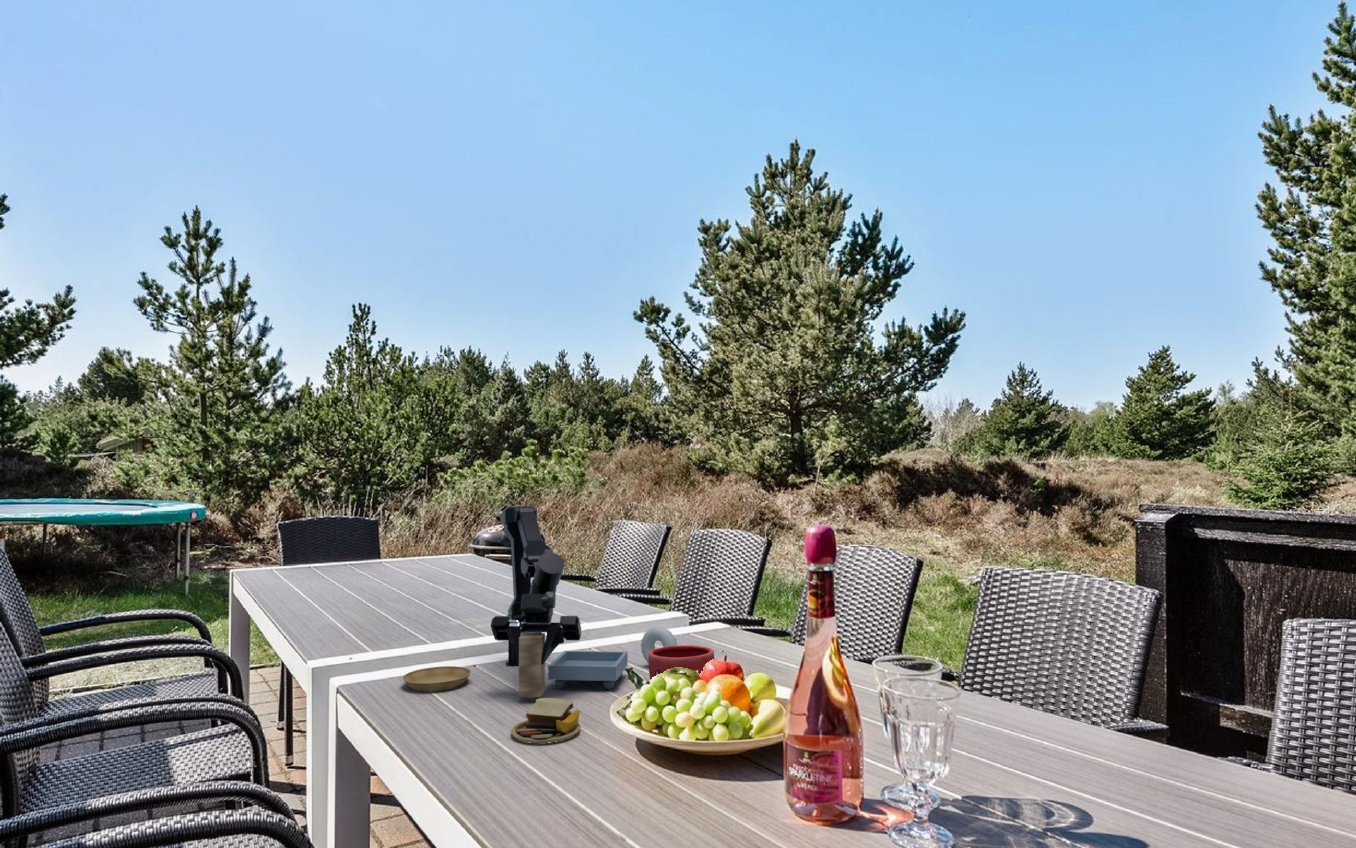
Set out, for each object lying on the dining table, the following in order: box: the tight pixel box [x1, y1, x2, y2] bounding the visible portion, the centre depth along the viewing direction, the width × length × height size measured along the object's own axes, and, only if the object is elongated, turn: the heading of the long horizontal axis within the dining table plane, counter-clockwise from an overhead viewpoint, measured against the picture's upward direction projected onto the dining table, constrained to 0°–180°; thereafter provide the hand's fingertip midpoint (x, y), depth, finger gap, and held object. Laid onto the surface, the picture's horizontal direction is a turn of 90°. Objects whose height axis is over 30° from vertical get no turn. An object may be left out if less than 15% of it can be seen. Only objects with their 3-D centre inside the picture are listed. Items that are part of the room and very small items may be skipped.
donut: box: [640, 625, 678, 665], centre depth 186 cm, size 10×3×10 cm, turn 57°
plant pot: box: [648, 644, 715, 681], centre depth 153 cm, size 13×13×12 cm
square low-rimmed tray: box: [547, 650, 629, 691], centre depth 174 cm, size 15×14×5 cm
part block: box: [518, 632, 546, 698], centre depth 161 cm, size 4×4×12 cm
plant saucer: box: [402, 665, 472, 693], centre depth 174 cm, size 15×15×3 cm
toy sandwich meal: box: [510, 697, 582, 743], centre depth 141 cm, size 12×14×5 cm
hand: (530, 663), depth 160 cm, fingers closed on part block, 4 cm apart
